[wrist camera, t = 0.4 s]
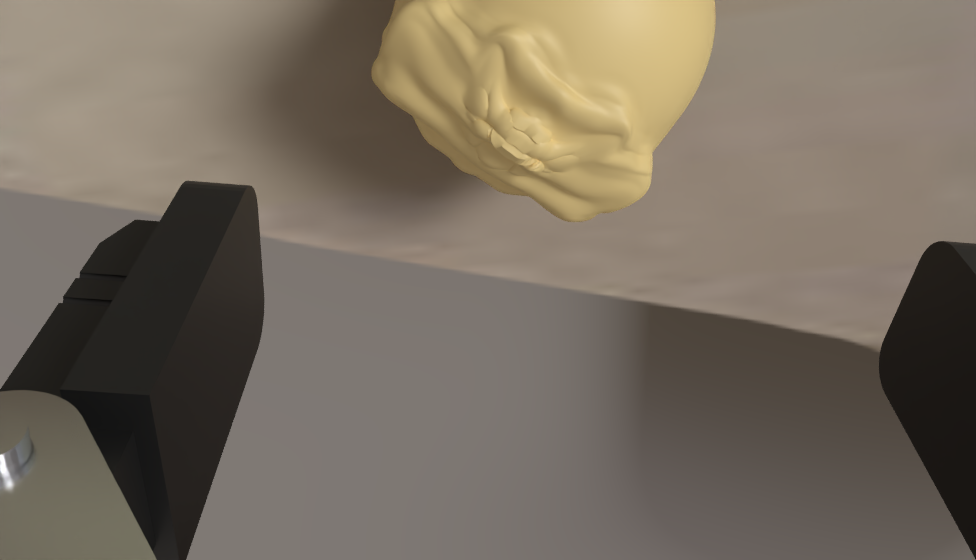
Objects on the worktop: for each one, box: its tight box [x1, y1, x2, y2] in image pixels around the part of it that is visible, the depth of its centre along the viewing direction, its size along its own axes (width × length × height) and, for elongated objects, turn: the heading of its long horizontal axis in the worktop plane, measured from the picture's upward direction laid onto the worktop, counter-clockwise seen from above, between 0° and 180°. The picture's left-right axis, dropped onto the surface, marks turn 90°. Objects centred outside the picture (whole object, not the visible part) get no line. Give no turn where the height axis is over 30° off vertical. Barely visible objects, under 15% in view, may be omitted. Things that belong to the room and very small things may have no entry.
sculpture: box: [371, 0, 715, 222], centre depth 33 cm, size 11×12×11 cm
